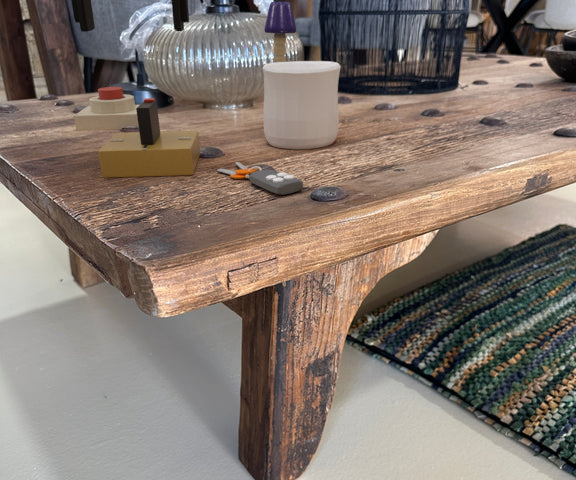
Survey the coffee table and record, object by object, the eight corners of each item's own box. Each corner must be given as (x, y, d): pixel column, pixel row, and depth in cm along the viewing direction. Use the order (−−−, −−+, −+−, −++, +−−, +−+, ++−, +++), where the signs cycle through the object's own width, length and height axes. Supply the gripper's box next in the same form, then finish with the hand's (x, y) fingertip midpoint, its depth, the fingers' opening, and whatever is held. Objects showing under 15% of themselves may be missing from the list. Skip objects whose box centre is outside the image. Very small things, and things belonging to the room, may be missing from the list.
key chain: (307, 190, 58) (307, 176, 57) (278, 198, 56) (277, 183, 55) (237, 164, 67) (236, 151, 66) (210, 170, 65) (209, 157, 64)
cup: (251, 140, 78) (247, 63, 73) (311, 130, 83) (311, 58, 78) (288, 154, 71) (287, 71, 66) (351, 142, 76) (354, 64, 71)
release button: (97, 102, 86) (95, 90, 85) (102, 98, 89) (101, 87, 88) (121, 102, 86) (119, 90, 85) (126, 98, 89) (124, 86, 88)
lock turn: (153, 144, 64) (148, 105, 62) (140, 145, 64) (135, 105, 62) (160, 134, 68) (156, 97, 66) (148, 135, 68) (144, 98, 66)
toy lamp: (276, 117, 92) (273, 1, 84) (302, 119, 90) (301, 1, 82) (261, 122, 88) (256, 2, 81) (287, 125, 86) (285, 1, 79)
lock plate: (102, 178, 63) (97, 149, 62) (120, 156, 71) (116, 131, 70) (193, 175, 63) (190, 147, 62) (200, 154, 72) (198, 128, 70)
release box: (76, 130, 85) (71, 103, 84) (90, 120, 92) (85, 94, 91) (143, 128, 86) (139, 101, 84) (152, 118, 93) (148, 92, 91)
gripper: (-1, -184, 49) (39, 33, 57) (201, -182, 50) (213, 33, 58) (29, -164, 56) (62, 28, 64) (207, -162, 56) (217, 28, 64)
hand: (133, 30), depth 61 cm, fingers open, 9 cm apart
